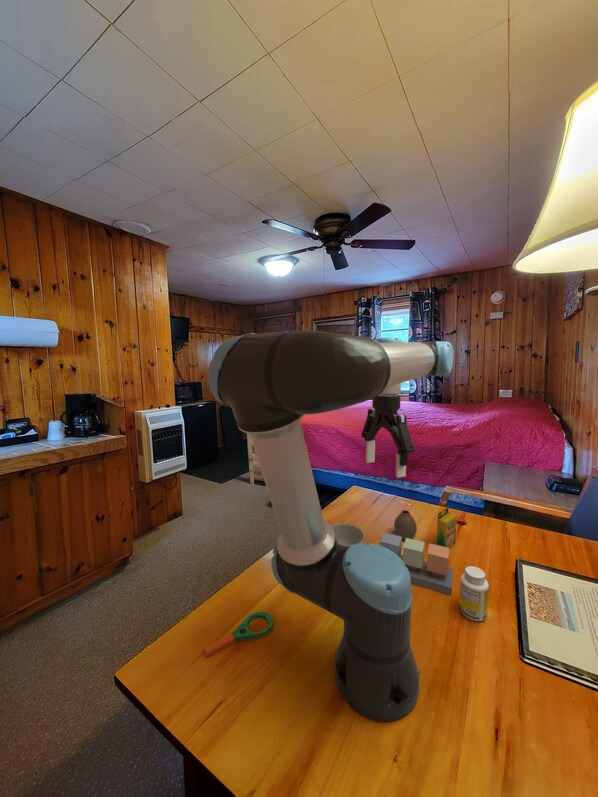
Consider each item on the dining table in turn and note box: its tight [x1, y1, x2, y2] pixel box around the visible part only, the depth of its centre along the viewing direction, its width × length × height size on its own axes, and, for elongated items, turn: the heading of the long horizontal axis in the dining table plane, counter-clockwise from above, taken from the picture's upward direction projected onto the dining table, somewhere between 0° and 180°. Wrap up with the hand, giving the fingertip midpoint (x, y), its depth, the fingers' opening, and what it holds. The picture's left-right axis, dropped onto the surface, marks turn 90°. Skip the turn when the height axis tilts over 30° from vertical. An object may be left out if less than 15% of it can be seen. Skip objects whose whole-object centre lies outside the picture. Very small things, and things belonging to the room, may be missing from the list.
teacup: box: [331, 522, 366, 548], centre depth 94 cm, size 14×11×8 cm
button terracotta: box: [426, 543, 450, 576], centre depth 83 cm, size 5×5×5 cm
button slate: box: [379, 532, 403, 557], centre depth 89 cm, size 5×5×5 cm
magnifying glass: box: [203, 611, 274, 657], centre depth 69 cm, size 15×6×2 cm, turn 124°
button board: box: [400, 554, 454, 596], centre depth 86 cm, size 8×19×6 cm, turn 62°
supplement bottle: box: [459, 565, 490, 622], centre depth 73 cm, size 6×6×10 cm
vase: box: [393, 509, 418, 542], centre depth 103 cm, size 7×7×9 cm
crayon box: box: [435, 506, 458, 550], centre depth 98 cm, size 7×3×12 cm, turn 131°
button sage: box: [402, 538, 426, 569], centre depth 86 cm, size 5×5×5 cm
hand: (384, 469), depth 91 cm, fingers open, 13 cm apart
